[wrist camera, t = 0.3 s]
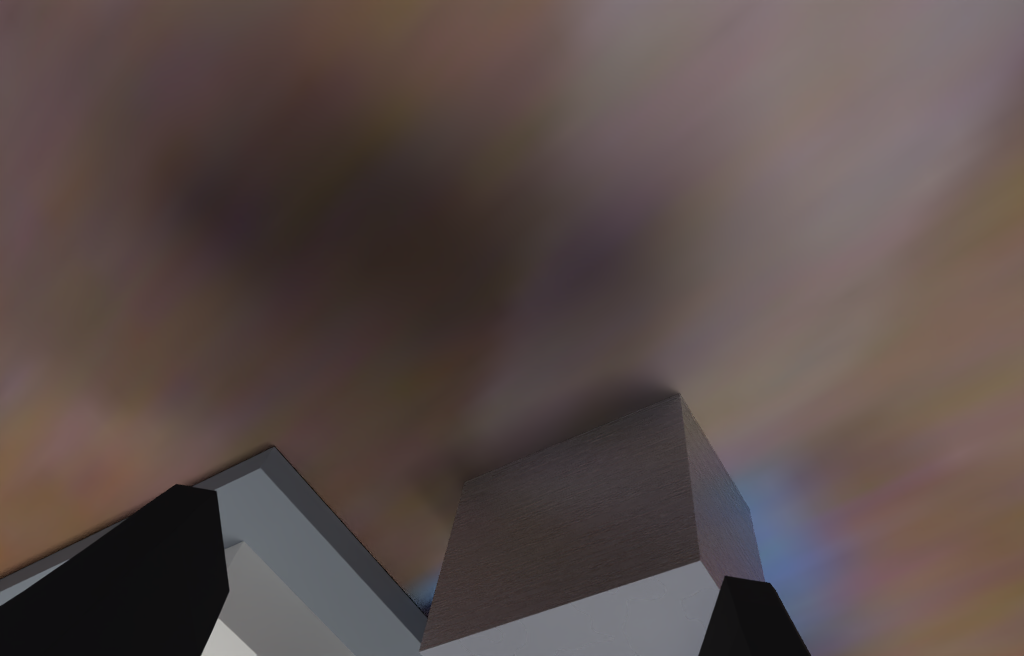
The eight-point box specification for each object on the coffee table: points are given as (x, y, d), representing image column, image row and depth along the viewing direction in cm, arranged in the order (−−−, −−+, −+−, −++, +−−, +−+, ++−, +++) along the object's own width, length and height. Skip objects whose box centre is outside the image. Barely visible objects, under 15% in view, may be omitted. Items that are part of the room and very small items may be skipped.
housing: (749, 507, 22) (789, 696, 17) (541, 578, 24) (520, 762, 19) (679, 391, 20) (700, 560, 15) (465, 480, 23) (418, 652, 17)
